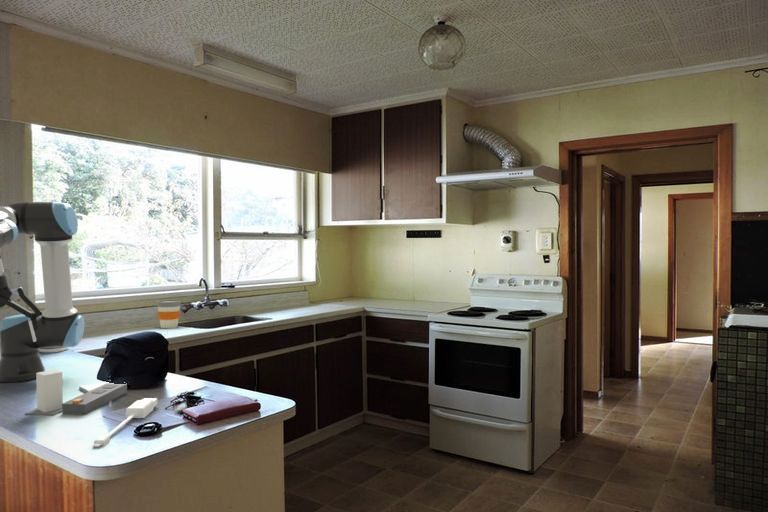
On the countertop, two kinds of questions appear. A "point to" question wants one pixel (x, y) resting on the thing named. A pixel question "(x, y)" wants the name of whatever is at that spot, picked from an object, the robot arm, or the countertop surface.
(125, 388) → the strip
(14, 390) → the countertop surface
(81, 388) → the external hard drive
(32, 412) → the mat
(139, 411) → the charging cable
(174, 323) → the reusable coffee cup
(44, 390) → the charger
